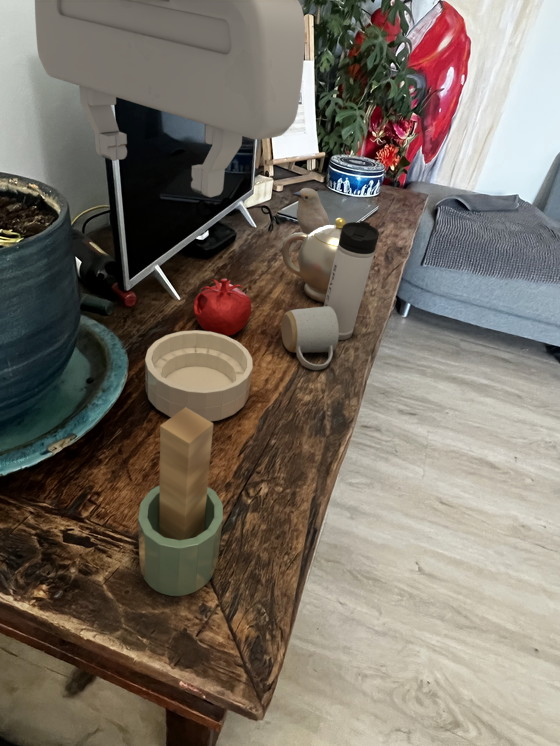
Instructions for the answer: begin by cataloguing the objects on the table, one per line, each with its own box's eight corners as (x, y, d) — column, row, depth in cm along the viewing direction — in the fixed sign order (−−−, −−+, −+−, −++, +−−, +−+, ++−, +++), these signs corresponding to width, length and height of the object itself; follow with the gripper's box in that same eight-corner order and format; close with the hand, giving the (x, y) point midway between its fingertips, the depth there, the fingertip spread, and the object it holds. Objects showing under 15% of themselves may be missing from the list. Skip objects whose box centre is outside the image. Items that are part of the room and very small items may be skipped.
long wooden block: (181, 574, 48) (189, 443, 38) (158, 557, 49) (159, 425, 39) (201, 552, 50) (213, 423, 40) (179, 537, 52) (185, 406, 41)
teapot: (364, 291, 107) (384, 217, 98) (352, 319, 97) (374, 239, 87) (286, 269, 110) (298, 196, 101) (266, 294, 100) (278, 214, 90)
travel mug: (355, 327, 94) (383, 226, 82) (347, 344, 89) (377, 238, 77) (323, 318, 95) (347, 216, 83) (314, 334, 90) (338, 227, 78)
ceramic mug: (276, 337, 87) (283, 299, 82) (319, 335, 90) (327, 298, 85) (295, 374, 79) (304, 334, 75) (341, 371, 82) (352, 332, 77)
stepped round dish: (205, 442, 64) (207, 407, 61) (123, 393, 69) (122, 359, 66) (266, 390, 75) (272, 358, 71) (192, 351, 80) (194, 319, 76)
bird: (281, 245, 121) (291, 183, 112) (333, 249, 124) (346, 189, 116) (285, 254, 117) (295, 190, 109) (338, 257, 121) (353, 195, 112)
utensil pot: (183, 612, 46) (186, 564, 41) (123, 566, 49) (119, 515, 44) (232, 555, 52) (239, 506, 47) (175, 516, 54) (177, 466, 50)
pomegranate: (256, 320, 91) (262, 273, 85) (238, 347, 83) (243, 298, 77) (205, 306, 92) (209, 259, 87) (183, 331, 84) (185, 282, 79)
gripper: (-8, -103, 30) (27, 143, 38) (272, -71, 22) (241, 227, 30) (79, -79, 34) (94, 136, 42) (336, -46, 27) (294, 207, 35)
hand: (157, 174), depth 36 cm, fingers open, 8 cm apart
